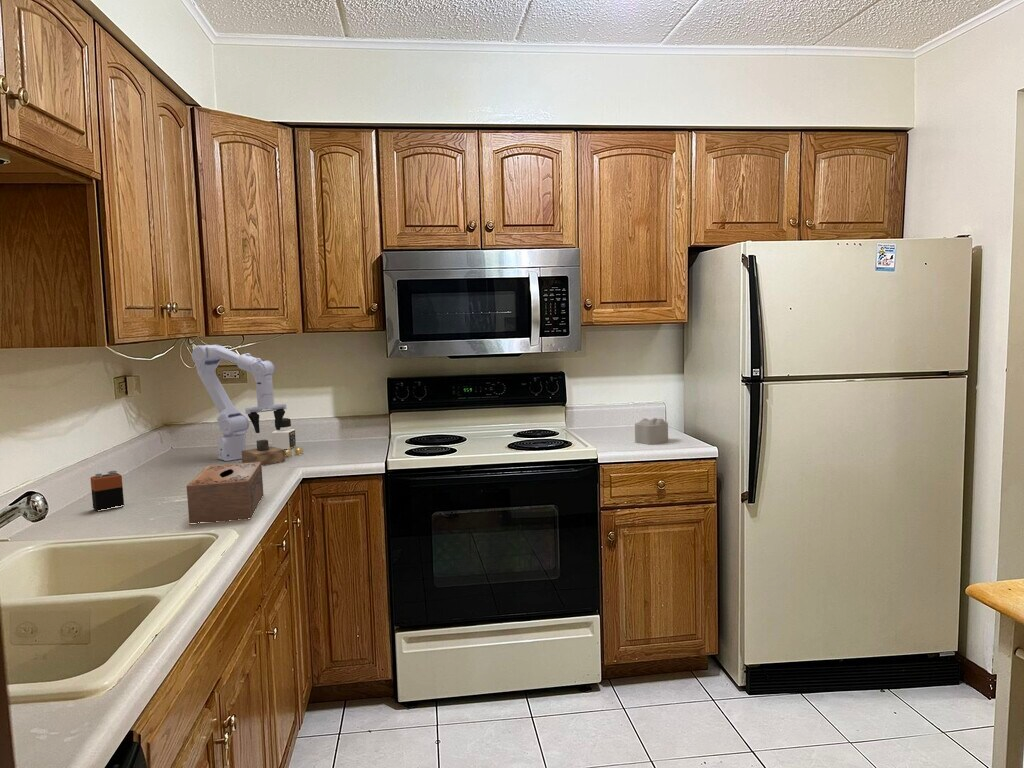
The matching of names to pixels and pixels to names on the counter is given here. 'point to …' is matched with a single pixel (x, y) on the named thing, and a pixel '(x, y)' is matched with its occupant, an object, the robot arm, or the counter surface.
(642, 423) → the lumpy-topped squat cylinder
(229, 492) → the tissue box cover
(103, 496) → the battery
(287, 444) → the medicine bottle
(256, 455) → the cover
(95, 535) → the counter surface
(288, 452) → the brass puck
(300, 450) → the brass puck
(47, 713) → the counter surface
